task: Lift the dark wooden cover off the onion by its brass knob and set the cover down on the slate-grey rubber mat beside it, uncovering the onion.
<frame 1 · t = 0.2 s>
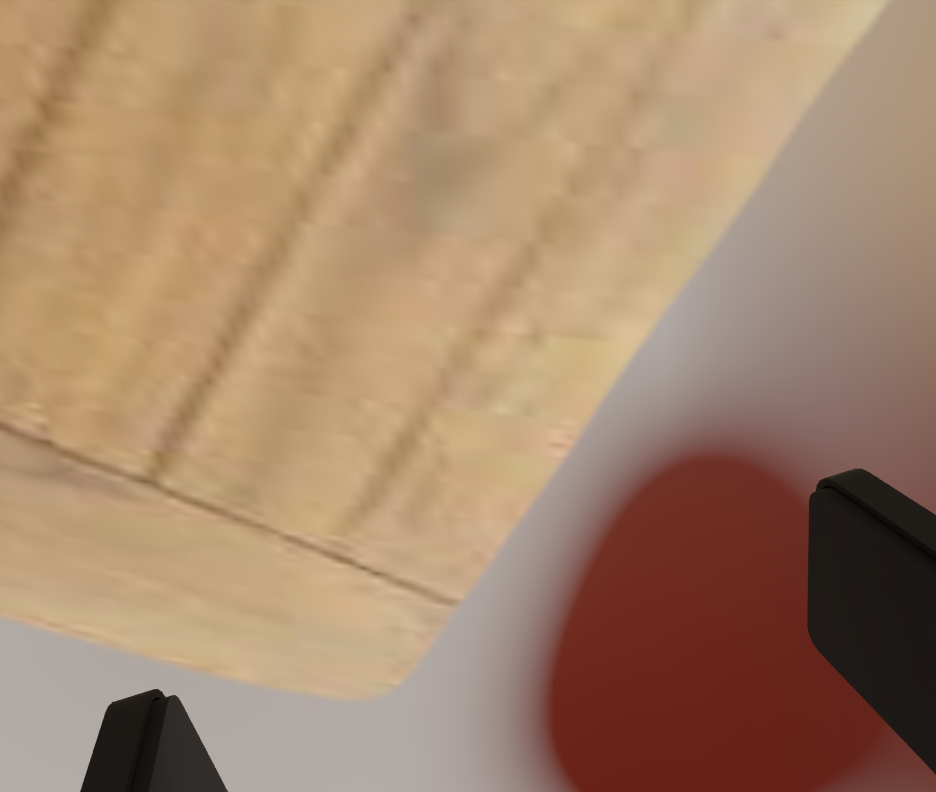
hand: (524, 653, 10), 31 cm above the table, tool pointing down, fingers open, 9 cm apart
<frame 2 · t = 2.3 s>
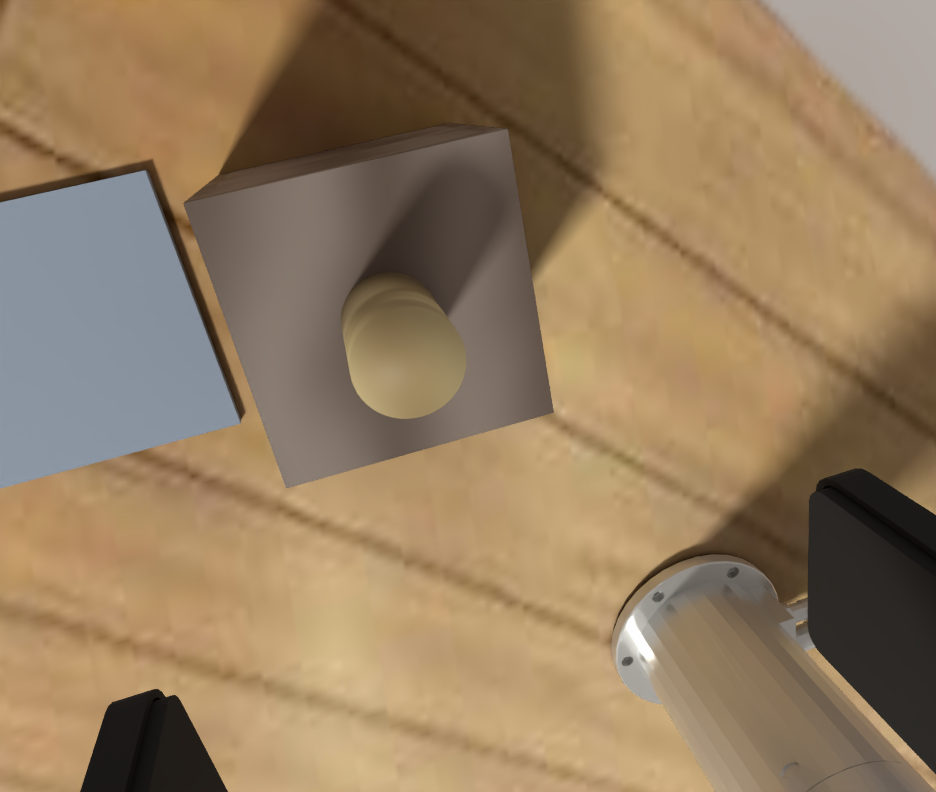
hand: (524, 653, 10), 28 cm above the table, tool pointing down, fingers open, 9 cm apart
mat: (62, 337, 33), on the table
cover: (365, 262, 35), on the table
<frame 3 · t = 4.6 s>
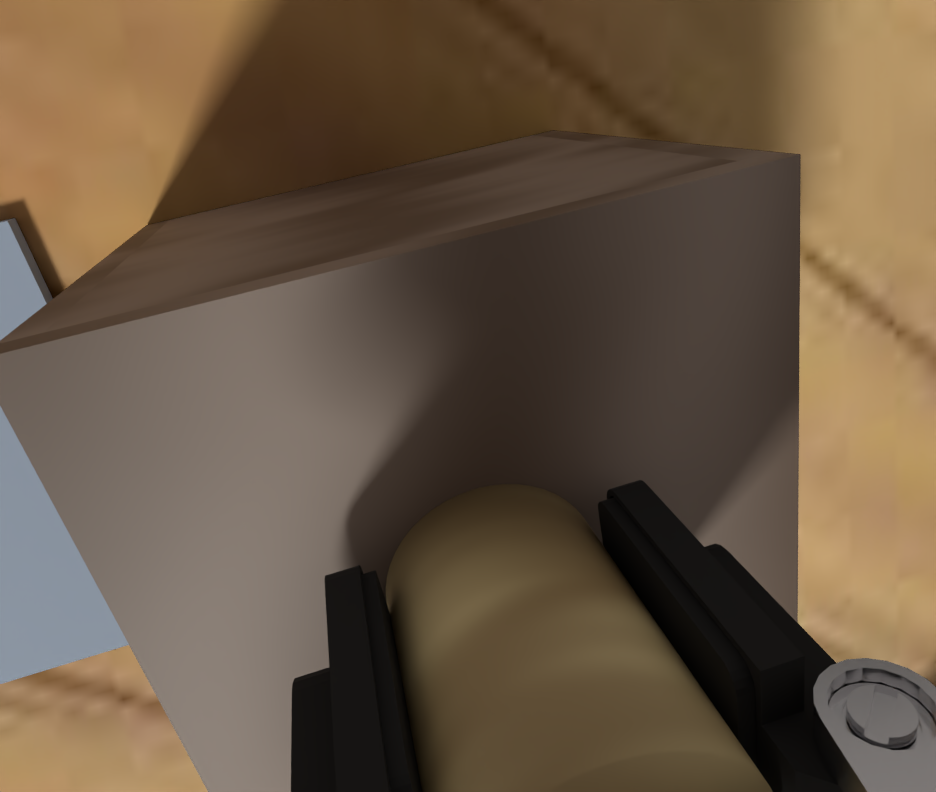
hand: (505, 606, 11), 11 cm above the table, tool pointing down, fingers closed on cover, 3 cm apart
cover: (405, 364, 21), on the table, touching gripper
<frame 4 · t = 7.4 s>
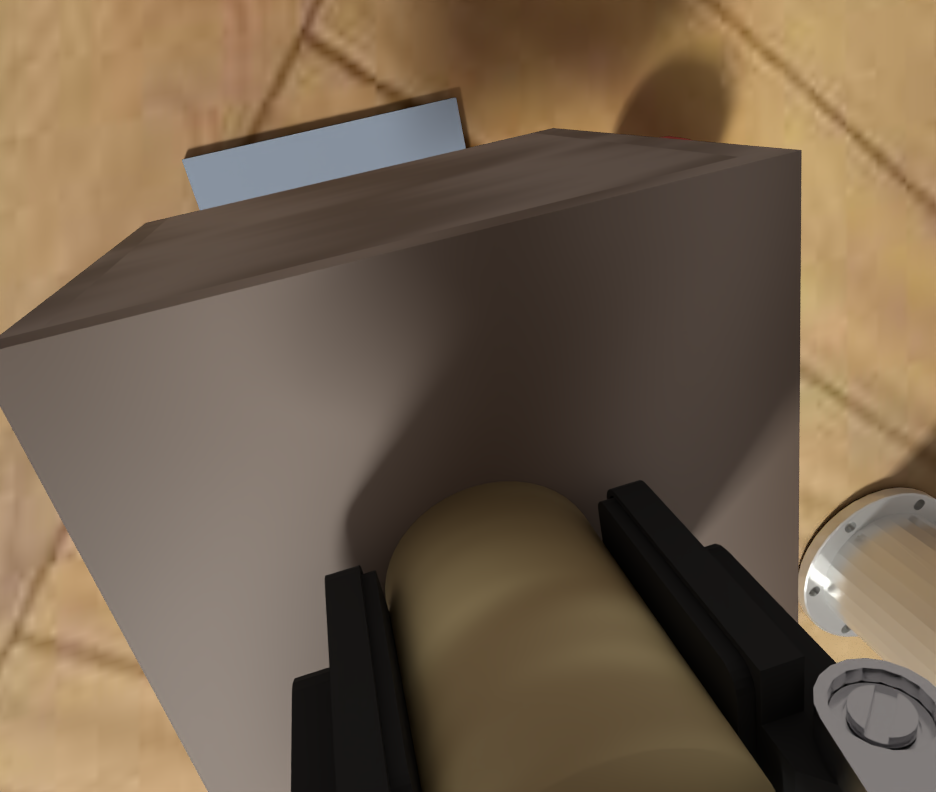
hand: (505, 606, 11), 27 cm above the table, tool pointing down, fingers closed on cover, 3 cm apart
mat: (358, 261, 35), on the table
cover: (405, 363, 21), point 16 cm above the table, touching gripper
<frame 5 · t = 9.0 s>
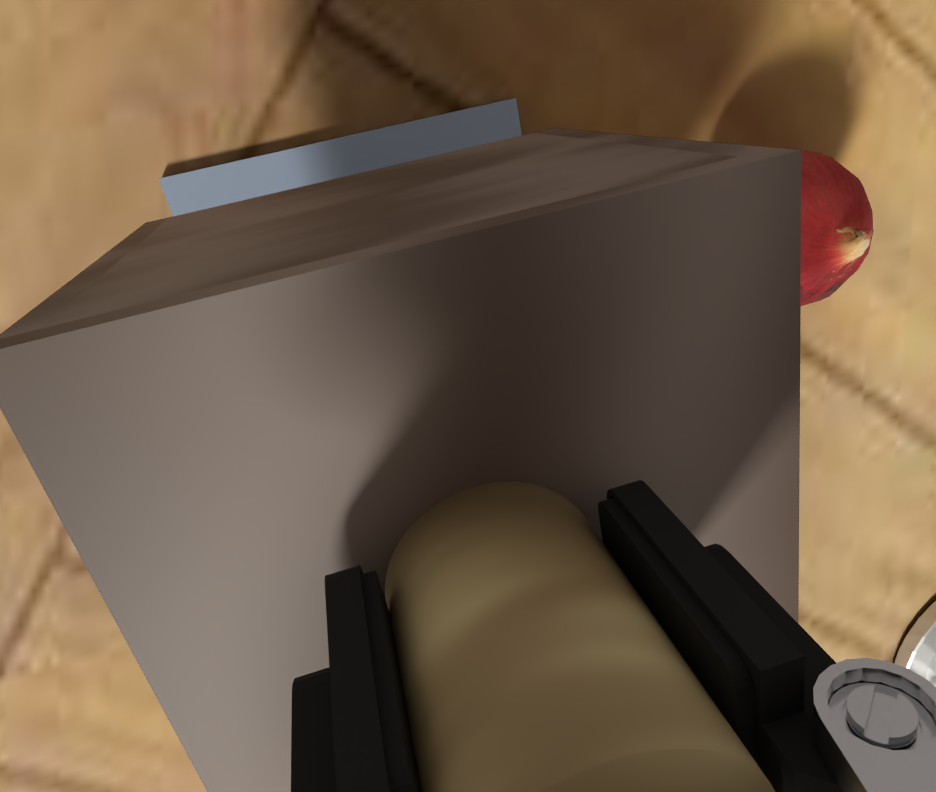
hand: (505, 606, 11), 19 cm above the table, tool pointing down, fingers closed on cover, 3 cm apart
mat: (385, 305, 28), on the table
cover: (405, 363, 21), point 8 cm above the table, touching gripper
onion: (724, 217, 30), on the table
when the fingers open (13 cm above the table, at t = 10.3 s): cover drops 1 cm, resting on mat.
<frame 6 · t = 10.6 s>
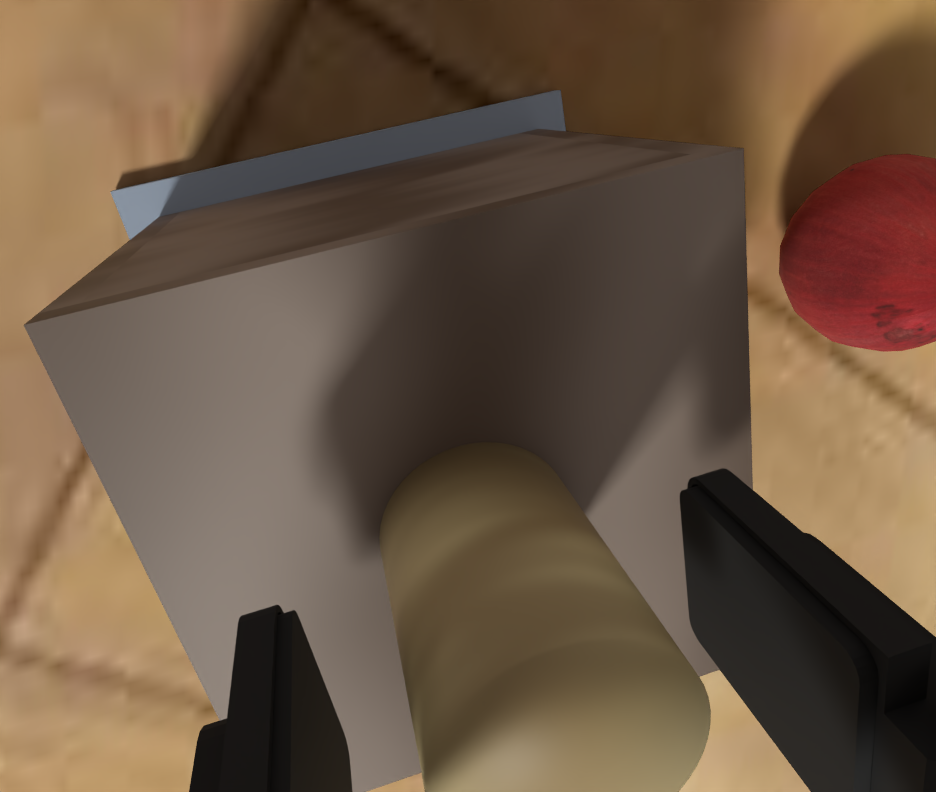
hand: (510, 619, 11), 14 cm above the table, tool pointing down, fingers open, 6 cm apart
mat: (396, 344, 23), on the table
cover: (400, 349, 22), resting on mat
onion: (802, 234, 25), on the table
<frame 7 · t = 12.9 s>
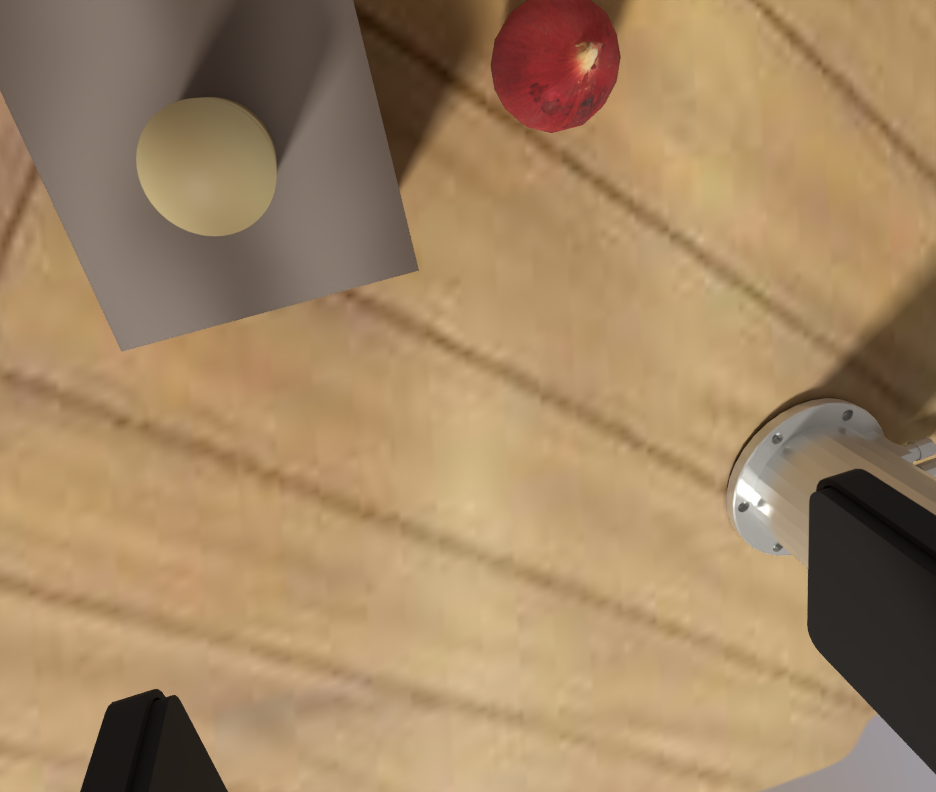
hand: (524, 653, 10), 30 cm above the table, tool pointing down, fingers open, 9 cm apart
cover: (236, 136, 33), resting on mat
onion: (527, 67, 36), on the table
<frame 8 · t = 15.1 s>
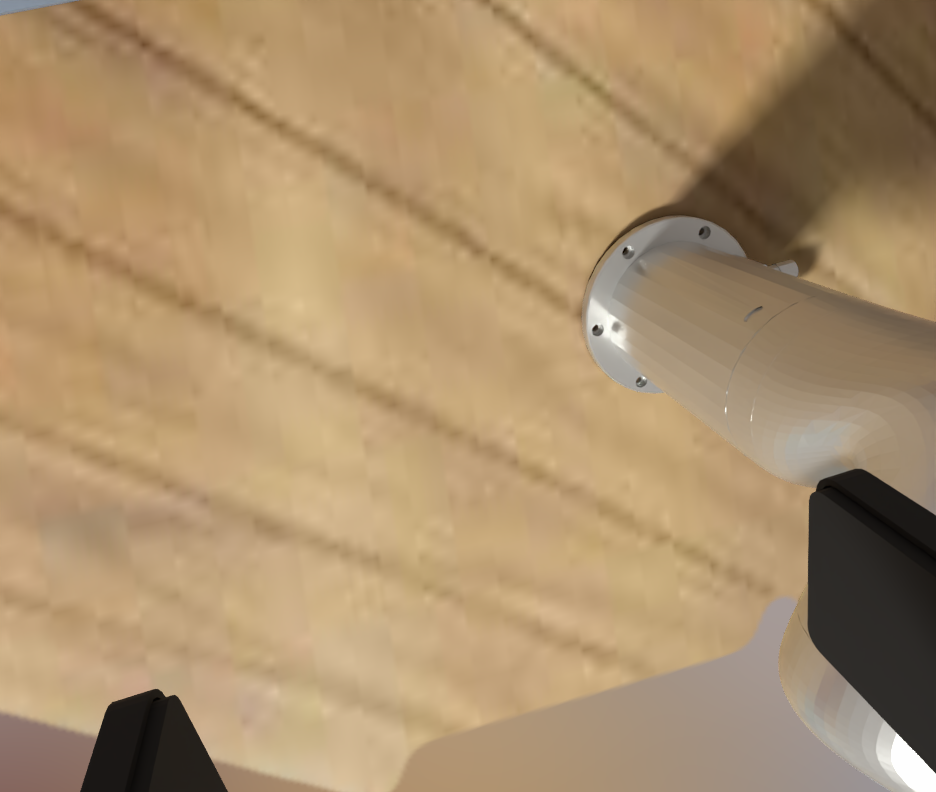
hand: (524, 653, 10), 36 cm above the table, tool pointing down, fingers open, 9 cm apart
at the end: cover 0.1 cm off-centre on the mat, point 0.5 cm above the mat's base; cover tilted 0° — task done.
